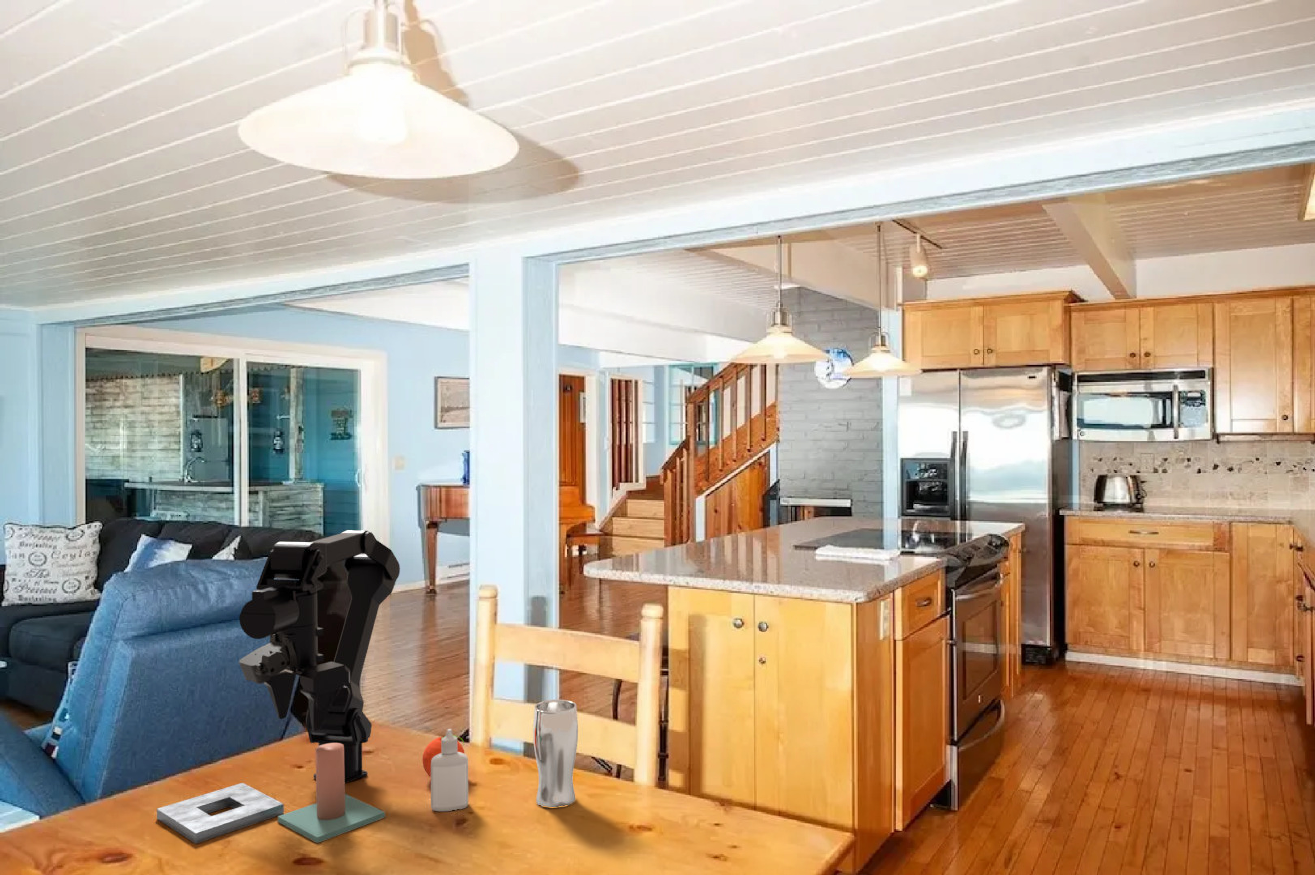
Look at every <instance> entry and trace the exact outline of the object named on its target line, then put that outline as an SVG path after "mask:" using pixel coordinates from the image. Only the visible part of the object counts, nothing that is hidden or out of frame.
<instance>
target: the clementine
mask: <svg viewBox="0 0 1315 875" xmlns="http://www.w3.org/2000/svg"><path fill="white" fill-rule="evenodd" d="M445 736H446V735H445ZM445 736H444V735H443V736H439V737H436V738H435V739H433V740H432V741H430V742H429V743H428V744H427V745H426V746H425V748H424V751H423V753H422V765H423V766H422V767H423V769H424V771H425V773H426V774H427V775H428V776H429V777H430V778H431V760H432V758H433V757H434V756H436V755H438V754H440V753H442V752H441V739H442V738H443V737H445ZM453 736H455V737H457V738H458V739H460V740H461V742H462V743H463V744H465V742H464V740H463V738H462V737H460V736H457V735H454V734H453ZM461 742H460V741H458V740H457V752H461V753H464V754H465V755H466V753H465V750H464V747H463V745H462V744H461Z"/></svg>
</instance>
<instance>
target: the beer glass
mask: <svg viewBox="0 0 1315 875" xmlns="http://www.w3.org/2000/svg"><path fill="white" fill-rule="evenodd" d="M577 711H578V710H577V704H576V702H574V701H572V700H567V699H548V700H543V701H540V702H538V703H536V704H535V705H534V715H533V727H532V734H533V735H532V737H533V738H532V739H533V741H532V742H533V747H534V754H535V761H536V766H537V773H538V787H537V792H536V799H535V800H536V801H535V802H536V804H537V805H538V806H539V805H541V806H547V807H559V806H565V805H570V804H571V803H573V802H574V801H576V793H575V788H574V783H573V782H574V781H573V780H574V779H573V776H574V769H575V768H574V766H575V760H576V757H577V756H576V755H577V748H578V741H579V740H578V739H579V724H578V712H577ZM574 803H575V802H574ZM574 803H573V804H574ZM541 806H540V807H541ZM570 806H571V805H570Z"/></svg>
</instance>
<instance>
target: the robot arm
mask: <svg viewBox="0 0 1315 875" xmlns="http://www.w3.org/2000/svg"><path fill="white" fill-rule="evenodd" d="M338 562H341V567H342V568H343V570H344V572H346V575H347V576H346V585H347V588H348V591H349V594H350V597H351V598H350V603H349V606H348V609H347V613H346V617H345V620H344V624H343V628H342V631H341V635H340V638H339V642H338V645H337V650H336V652H335V655H334V656H335V657H334V659H333V661H328V662H325V663H323V662H324V661H325V660H324V659H325V658H324V654H322V653H319V650H318V649H319V647H318V637H320V636H324V628H323V627H318V591H320V590H322V589H323V588H324V584H323V583H322V582H321V581H320V580H318V578H319V577H321V576H322V575H324V574H325V573H326V572H327V571H328V567H329V566H330V565H333V564H336V563H338ZM400 572H401V566H400V563H399V560H398V559H397V557H396V556H395V554H394V552H393V551H392V550H391V548H389V547H387V546H386V545H385V544H383V543H382V542H380V541H379V540H377V539H376V536H375V535H374V534H373V532H372V531H371V532H370V531H368V530H356V529H354V530H349V529H348V530H345V531H343V532H341V533H338V534H334V535H331V536H327V537H324V538H323V537H322V538H319V539H317V540H313V541H310V542H309V541H308V542H307V541H306V542H305V541H278V542H276V543H275V544H274V545H273V546H272V549H271V550H270V552H269V553H268V556H267V558H266V561H265V564H264V566H263V569H262V572H261V574H260V575H259V576H260V577H259V579H258V581H257V585H256V586H255V587H256V590H253V591H252V592H251V600H249V601H247V602H246V603H245V604H244V605H243V607H242V609H241V610H240V613H239V618H238V619H239V625H240V628H241V629H242V631H243V633H244V634H246V635H247V636H248V637H250V638H252V639H256V640H261V639H265V638H267V637H269V643H267V644H265V645H262V646H260V647H258V648H257V649H254V650H253V651H252V652H250V653H248V654H246V655H245V656H243V657H242V658H240V659H239V660H238V664H239V666H240V669H241V671H242V673H243V676H244V678H245V680H246V682H247V681H248V682H249V681H251V682H254V683H255V684H257V685H260V684H264V685H265V686H266V688H267V691H268V694H269V695H270V699H271V701H272V705H273V707H274V710H275V713H276V715H277V718H278V719H279V720H282V719H283V720H284V719H286V718H287V715H288V712H289V709H290V704H291V700H292V696H293V689H294V687H295V686H294V685H295V681H296V676H298V677H300V679H299V682H300V685H301V687H302V689H299V691H300V693H301V694H303V695H304V696H306V697H307V700H308V705H307V708H306V710H307V711H306V714H305V722H304V723H305V726H306V727H305V728H306V731H307V734H308V739H309V743H310V744H315V743H317V744H318V746H320V745H323V744H328V743H341V744H343V745H344V775H345V784H346V783H348V782H352V781H354V780H357V779H360V778H363V777H367V776H368V775H369V774H368V773H369V772H368V771H366V770H365V769H363V744H366V743H368V742H369V738H370V737H371V735H372V734H371V733H372V726H373V724H372V722H371V721H370V720H369V719H368V717H367V716H366V715H365V713H364V712H363V710H364V699H363V696H362V693H361V690H360V685H359V684H360V681H361V680H360V679H361V676H362V672H363V669H364V665H365V660H366V658H367V655H368V654H367V653H368V649H369V647H370V642H371V638H372V634H373V630H374V626H375V622H376V619H377V615H378V612H379V607H380V605H381V604H382V603H383V602H384V601H385V600H386V599H387V598H388V597H389V596H390V595H391V594H392V592H393V590H394V587H395V585H396V582H397V581H398V578H399V576H400ZM318 663H320V664H318ZM313 778H314V779H316V773H313Z"/></svg>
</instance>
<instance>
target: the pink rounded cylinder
mask: <svg viewBox="0 0 1315 875" xmlns="http://www.w3.org/2000/svg"><path fill="white" fill-rule="evenodd" d="M314 755H315V774H316V778H315V786H316V787H315V788H316V789H315V793H316V796H315V797H316V803H317V818H319V819H321V820H332V819H336V818H339V817H341V816H343V815H344V814H345V794H346V789H345V788H346V783H345V775H344V745H343V744H341V743H328V744H323V745H320V746H319V745H318V746H317V747H316V748H315V754H314Z"/></svg>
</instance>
